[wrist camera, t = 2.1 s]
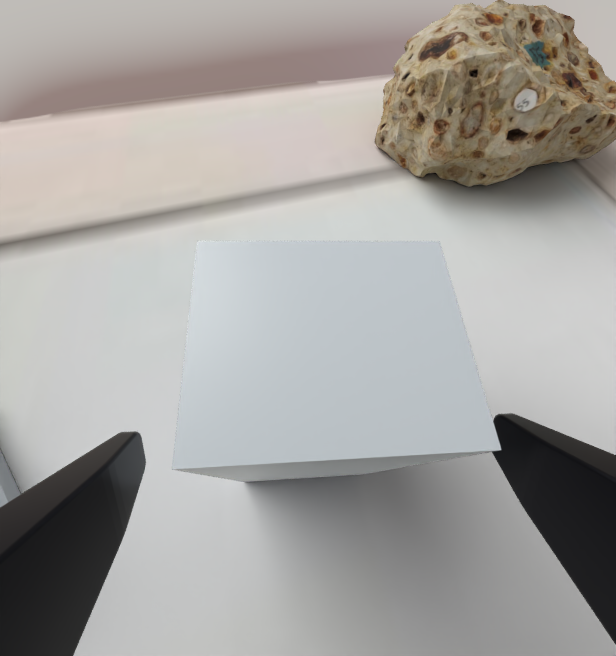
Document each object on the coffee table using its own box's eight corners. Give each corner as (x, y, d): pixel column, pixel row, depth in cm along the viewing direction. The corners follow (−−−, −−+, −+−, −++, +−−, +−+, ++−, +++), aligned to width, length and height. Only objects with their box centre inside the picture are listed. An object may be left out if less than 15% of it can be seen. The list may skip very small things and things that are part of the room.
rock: (497, 83, 36) (594, -33, 27) (562, 194, 34) (692, 110, 25) (337, 95, 29) (395, -56, 20) (406, 237, 27) (506, 140, 18)
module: (362, 474, 17) (501, 450, 6) (243, 481, 16) (171, 469, 6) (349, 370, 19) (434, 222, 9) (246, 374, 19) (199, 221, 8)
